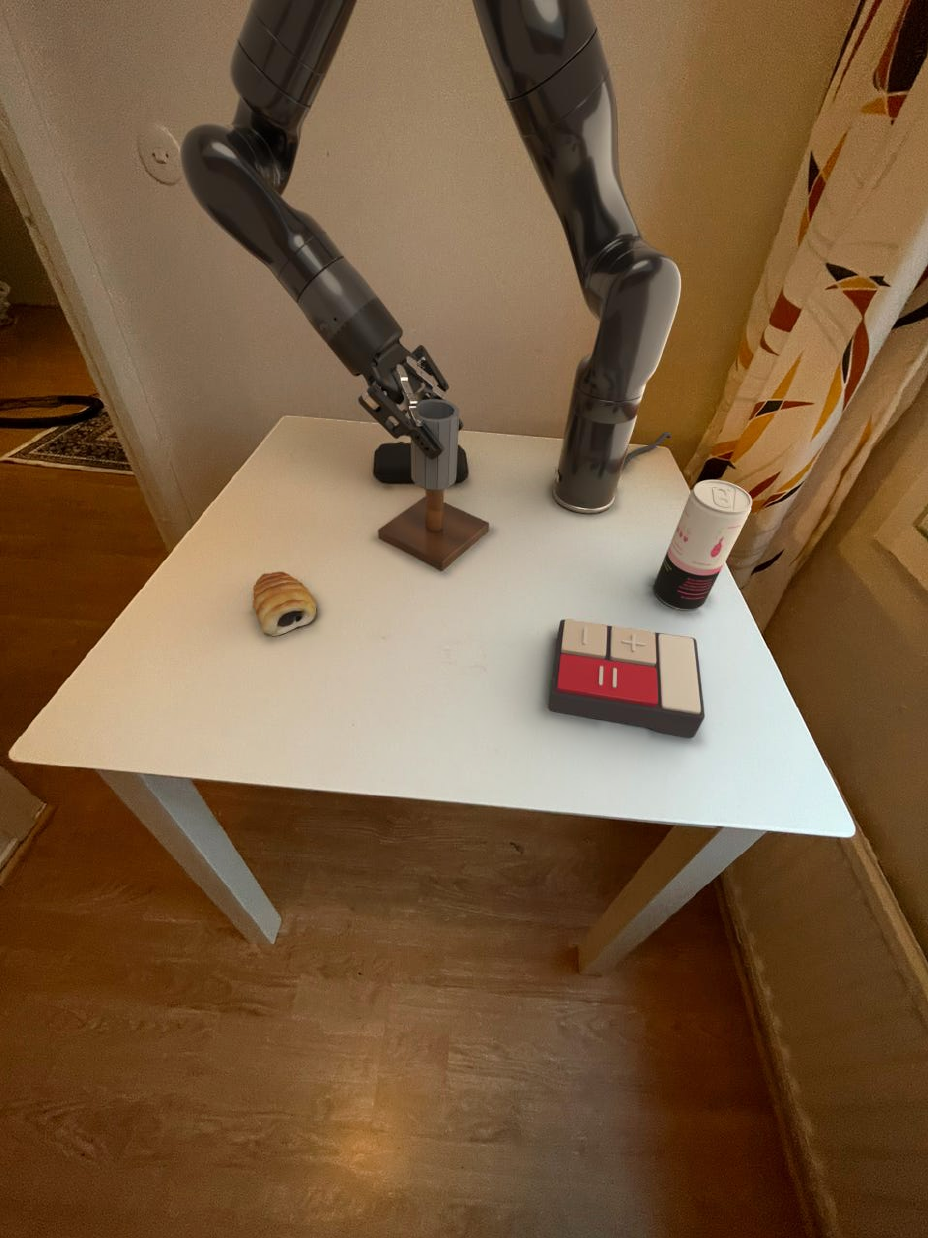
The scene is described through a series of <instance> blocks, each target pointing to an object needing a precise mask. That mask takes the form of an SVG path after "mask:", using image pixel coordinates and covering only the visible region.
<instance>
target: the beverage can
mask: <svg viewBox="0 0 928 1238" xmlns="http://www.w3.org/2000/svg"><path fill="white" fill-rule="evenodd" d="M752 506H753V498H752V496H751V495H750V493H748V491H746V490H745V489H743V488H742V487H740V486H739V485H737V484H735V483H732V482H729V481H726V480H721V479H705V480H702V481H699V482H697V483H696V484H695V485H694V487H693V488H692V489H691V490H690V492H689V495H688V498H687V500H686V502H685V506H684V507H683V510H682V513H681V515H680V518H679V520H678V523H677V526H676V528H675V530H674V533H673V535H672V538H671V540H670V543H669V545H668V548H667V550H666V553H665V555H664V558H663V560H662V563H661V566H660V568H659V570H658V573H657V575H656V578H655V580H654V584H653V591H654V593H655V595H656V596H657V598H658V599H659V600H661V602H663V603H664V604H665V605H667V606H669V607H671V608H673V609H676V610H681V611H690V610H696V609H699V608H700V607H703V606H704V604H705V603H706V601H707V599H708V596H709V595H710V592H711V591H712V588H713V587H714V585H715V583H716V582H717V579H718V577H719V575H720V573H721V571H722V569H723V567H724V565H725V563H726V561H727V560H728V557H729V555H730V554H731V552H732V549H733V547H734V545H735V543H736V541H737V539H738V537H739V536H740V533H741V532H742V529H743V527H744V525H745V523H746V521H747V519H748V518H749V515H750V513H751V511H752Z"/></svg>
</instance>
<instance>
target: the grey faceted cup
mask: <svg viewBox="0 0 928 1238" xmlns="http://www.w3.org/2000/svg"><path fill="white" fill-rule="evenodd" d="M416 408H417V410H418V413H419V415H420V417H421V419H422V421H423V425H424V424H426V425H427V426H428V428H429V429H430V430H431V432H432V433H433V434H434V435H435V437H436V438H437V439H438V440H439V442H440V443H441V444H442V445H443V447H444V451H443V452H442V453H441V454H440V455H439V456H438V457H436V458H435V459H433V460H430V459H429V458H428V457H427V456H425V455H424V453H423V452H422V451H421V450H420V449H419V447H418V446H417V445H416V444H415V442H414V441H413V440H412V439H411V438H410V443H411V477H412V480H413V481H414V483H415V484H414V485H416V486H418V487H421V488H423V489H424V490H426V489H433V490H439V489H443V488H444V489H447V488H450V487H451V486H453V485H455V484H454V483H455V480H456V471H457V451H458V445H459V432H460V431H459V418H460V408H459V407H458V406H457V405H456V404H455V403H453V402H451V401H448V400H447V399H446V400H439V399H427V400H421V401H417V405H416ZM409 419H411V418H410V417H409ZM458 431H459V432H458Z"/></svg>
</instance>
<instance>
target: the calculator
mask: <svg viewBox="0 0 928 1238" xmlns="http://www.w3.org/2000/svg"><path fill="white" fill-rule="evenodd" d="M701 677H702V676H701V669H700V661H699V650H698V643H697V639H696V638H694V637H692V636H683V635H676V634H669V633H663V632H655V631H652V630H647V629H641V628H640V629H639V628H633V627H627V626H626V627H625V626H620V625H606V624H604V623H598V622H592V621H591V622H590V621H585V620H584V621H583V620H577V619H570V618H567V619H565V618H563V619H561V620H560V621H559V625H558V631H557V637H556V644H555V653H554V660H553V667H552V675H551V684H550V692H549V700H548V709H549V711H551V712H556V713H561V714H567V715H574V716H578V717H584V718H591V719H598V720H604V721H610V722H615V723H621V724H626V725H627V724H628V725H632V726H639V727H644V728H650V729H651V730H653V731H655V732H657V733H660V734H665V735H672V736H678V737H683V738H690V739H692V738H695V737H696V735H697V733H698V731H699V729H700V727H701V725H702V724H703V722H704V720H705V716H706V714H705V705H704V704H705V703H704V697H703V695H704V694H703V687H702V679H701Z"/></svg>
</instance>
